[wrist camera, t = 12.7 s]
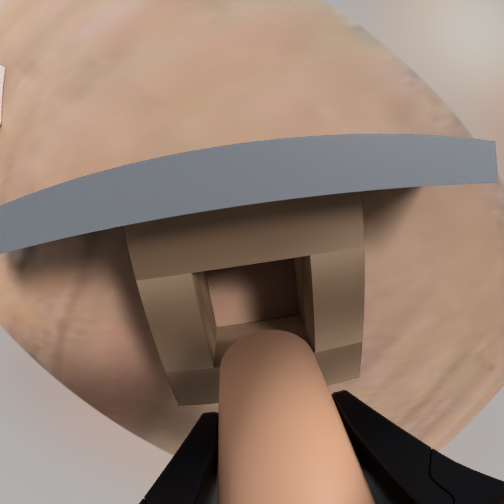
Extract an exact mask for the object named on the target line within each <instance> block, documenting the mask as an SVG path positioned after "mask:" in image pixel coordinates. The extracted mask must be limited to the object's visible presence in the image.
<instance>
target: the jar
mask: <svg viewBox="0 0 504 504" xmlns="http://www.w3.org/2000/svg"><path fill="white" fill-rule="evenodd" d="M4 75H5V67H3V66H0V125H1V119H2V97H3V85H4Z"/></svg>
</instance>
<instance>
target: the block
mask: <svg viewBox="0 0 504 504" xmlns="http://www.w3.org/2000/svg"><path fill="white" fill-rule="evenodd" d="M123 228H124V233H125V238H126V242H127V246H128V251H129V255H130V259H131V263H132V267H133V271H134V275H135V279H136V282H137V286H138V290H139V293H140V297H141V300H142V304H143V307H144V310H145V314H146V317H147V320H148V323H149V326H150V330H151V333H152V336H153V339H154V342H155V345H156V347H157V350H158V353H159V356H160V359H161V362H162V364H163V367H164V370H165V372H166V375H167V378H168V380H169V383H170V385H171V388H172V390H173V393H174V395H175V398H176V400H177V403H178V405H179V406H182V405H199V404H212V403H219V381H220V364H221V360H222V357H223V356H224V354H225V352H226V351H227V349H228V348H229V347H230V346H231V345H232V344H233V343H234V342H236V341H237V340H239V339H240V338H242V337H244V336H246V335H248V334H251V333H254V332H258V331H262V330H282V331H287V332H290V333H293V334H295V335H297V336H299V337H301V338H302V339H303V340H305V341H306V342H307V343H308V345H309V346H310V347H311V349H312V351H313V353H314V356H315V358H316V360H317V363H318V365H319V367H320V370H321V372H322V374H323V377H324V379H325V381H326V384H327V385H331V384H336V383H340V382H344V381H348V380H352V379H355V378H359V375H360V365H361V353H362V338H363V320H364V284H365V261H364V225H363V206H362V192H361V191H359V192H349V193H339V194H329V195H320V196H312V197H303V198H295V199H287V200H279V201H271V202H264V203H257V204H249V205H243V206H236V207H229V208H222V209H216V210H210V211H203V212H197V213H191V214H185V215H179V216H173V217H168V218H162V219H157V220H151V221H146V222H140V223H135V224H130V225H125V226H123ZM290 258H294V263H295V274H296V285H297V297H298V310H299V315H295V316H290V317H284V318H278V319H272V320H265V321H259V322H252V323H245V324H238V325H231V326H223V327H217V326H216V322H215V317H214V312H213V308H212V303H211V298H210V293H209V289H208V284H207V279H206V274H205V271H209V270H216V269H223V268H229V267H236V266H243V265H250V264H256V263H263V262H270V261H276V260H283V259H290Z"/></svg>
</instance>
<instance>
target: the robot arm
mask: <svg viewBox="0 0 504 504" xmlns="http://www.w3.org/2000/svg"><path fill="white" fill-rule="evenodd" d="M331 396H332V398H333V400H334V403H335V405H336V407H337V410H338V412H339V415H340V417H341V419H342V422H343V424H344V427H345V429H346V431H347V434H348V436H349V439H350V441H351V444H352V446H353V448H354V451H355V453H356V456H357V458H358V461H359V463H360V466H361V468H362V471H363V473H364V476H365V478H366V480H367V483H368V485H369V488H370V490H371V493H372V495H373V498H374V501H375V503H376V504H504V481H501V480H498V479H495V478H493V477H490V476H488V475H485V474H482V473H480V472H477V471H474V470H472V469H470V468H468V467H466V466H463V465H461V464H459V463H456V462H454V461H453V460H451V459H450V458H448V457H446V456H444V455H442V454H441V453H439V452H438V451H436V450H434V449H431V447H429V446H428V445H426V444H425V443H423V442H421V441H420V440H418V439H417V438H415V437H414V436H412V435H411V434H409V433H408V432H406V431H405V430H403V429H402V428H400V427H398V426H397V425H395V424H394V423H392V422H391V421H390V420H388V419H387V418H385V417H384V416H382V415H381V414H379V413H378V412H376V411H375V410H373V409H372V408H371V407H369V406H368V405H366V404H365V403H363V402H362V401H361V400H359V399H358V398H356V397H355V396H353V395H352V394H351V393H349V392H348V391H346V390H343V391H339V392H334V393H333V394H332V395H331ZM217 464H218V413H217V412H207V413H203V414H202V415H201V417H200V418H199V420H198V421H197V423H196V424H195V426H194V427H193V429H192V430H191V432H190V433H189V435H188V436H187V438H186V439H185V440H184V442H183V443H182V445H181V446H180V448H179V449H178V451H177V452H176V453H175V455H174V456H173V458H172V459H171V461H170V462H169V463H168V465H167V466H166V468H165V469H164V470H163V472H162V473H161V475H160V476H159V477H158V479H157V480H156V482H155V483H154V484H153V486H152V487H151V488H150V490H149V491H148V493H147V494H146V495H145V497H144V498H145V499H142V501H141V502H140V503H139V504H217Z"/></svg>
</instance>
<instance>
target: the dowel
mask: <svg viewBox="0 0 504 504" xmlns="http://www.w3.org/2000/svg"><path fill="white" fill-rule="evenodd" d="M217 504H376V503H375V501H374V498H373V495H372V493H371V490H370V488H369V485H368V483H367V480H366V478H365V476H364V473H363V471H362V468H361V466H360V463H359V461H358V458H357V456H356V453H355V451H354V448H353V446H352V444H351V441H350V439H349V436H348V434H347V431H346V429H345V427H344V424H343V422H342V419H341V417H340V415H339V412H338V410H337V407H336V405H335V403H334V400H333V398H332V396H331V393H330V391H329V389H328V386H327V384H326V381H325V379H324V377H323V374H322V372H321V370H320V367H319V365H318V363H317V360H316V358H315V356H314V353H313V351H312V349H311V347H310V346H309V345H308V343H307V342H306V341H305V340H303V339H302V338H301V337H299V336H297V335H295V334H293V333H290V332H287V331H282V330H262V331H258V332H254V333H251V334H248V335H246V336H244V337H242V338H240V339H239V340H237V341H236V342H234V343H233V344H232V345H231V346H230V347H229V348H228V349H227V351H226V352H225V354H224V356H223V357H222V360H221V364H220V381H219V413H218V464H217Z"/></svg>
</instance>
